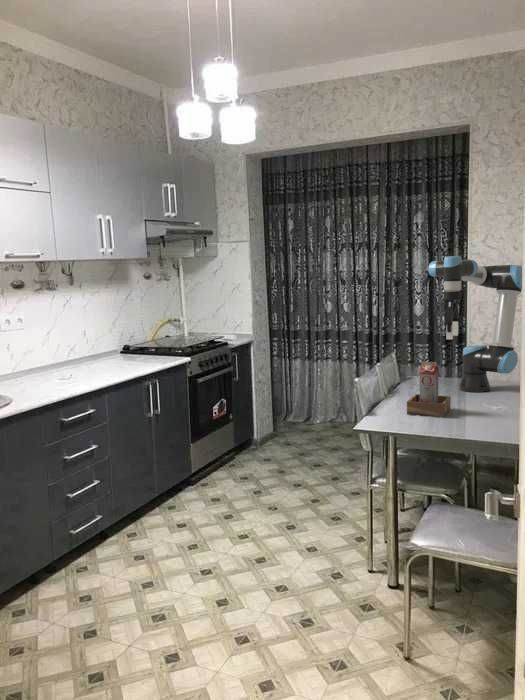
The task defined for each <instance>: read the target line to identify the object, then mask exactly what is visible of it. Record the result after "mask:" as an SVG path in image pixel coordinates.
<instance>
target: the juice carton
mask: <svg viewBox="0 0 525 700" xmlns="http://www.w3.org/2000/svg"><path fill="white" fill-rule="evenodd" d="M437 363H438V362H437V361H421V366H420V368H419V394H420V402H426V403H438V396H439V367H438V366H437V365H438V364H437Z"/></svg>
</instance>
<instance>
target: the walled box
mask: <svg viewBox="0 0 525 700" xmlns="http://www.w3.org/2000/svg"><path fill="white" fill-rule="evenodd" d="M451 402H452V401H451V396H450V395H449V396H447V395H438V403H426V402H420V393H414V395H412V396H411V398H409V399H408V400H407V401H406V415H407V414H411V415H410V416H416V415H420V416H419V417H428V416H434V417H433V418H440V417H444V416H445V417H446V415H447V414H448V413H449V412H450V411H451V408H452V407H451ZM435 416H436V417H435ZM445 417H444V418H445Z"/></svg>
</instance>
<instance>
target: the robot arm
mask: <svg viewBox="0 0 525 700" xmlns="http://www.w3.org/2000/svg"><path fill="white" fill-rule="evenodd" d="M522 266H523V265H519V264H500V265H487V266H486V265H484V266H482V265H478V263H477V261H475V260H473V259H462V256H461V255H453V256H452V255H449V256H445V257H444V259H443V260H433V261H431V262H430V263H429V264H428V271H427V272H428V274H429V275H430V276H431V277H433V278H434V277H435V278H439V277H441V278H443V283H442V286H443V290H444V292H443V299H444V300H447V301H448V302H446V313H445V322H444V326H446V327H445V328H446V329H445V332H446V333H445V335H446V337H445V339H446V340H453V338H454V337H455V336H456V337H458V336H459V322H461V318H460V317H459V300H461V299H462V281H464V282H469V283H471V284H473V285H476V286H481V287H484V288H489V289H495V290H496V293H497V294H498V299H497V308H496V314H495V324H494V330H493V331H494V332H493V339H492V342H491V343H490V344H489V346H488V345H486V344H477V345H469V346H466V347H465V346H464V348H463V350H462V376H461V379H460V382H459V385H458V386H459V387H458V388H459V391H462V392H467V393H485V392H484V391H486V392H488V390H489V391H491V384H490V382H489V379H488V375H487V372H490V373H497V374H510V373H512V372H513V371H514V369H516V367H517V365H518V359H519V356H518V353H517V352H516V350H515V346H513V344H512V341H513V334H514V333H513V332H514V326H515V319H516V318H515V317H516V308H517V302H518V296H519V295H521V293H522V290H523V289H522Z"/></svg>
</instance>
